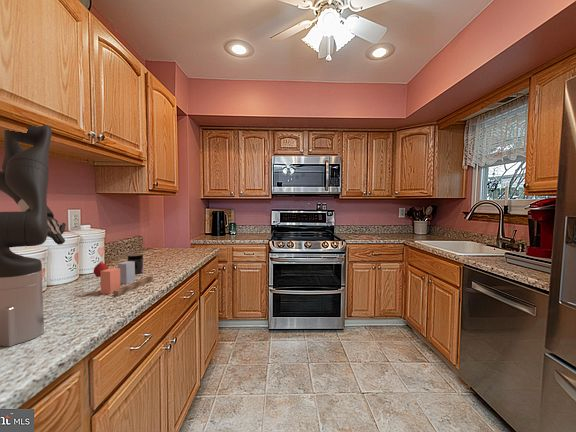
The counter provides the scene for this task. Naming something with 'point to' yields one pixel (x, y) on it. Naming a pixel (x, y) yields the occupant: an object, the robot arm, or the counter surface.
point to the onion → (100, 268)
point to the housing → (132, 286)
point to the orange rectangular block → (110, 280)
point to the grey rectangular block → (127, 272)
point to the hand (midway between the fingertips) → (61, 243)
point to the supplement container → (136, 262)
